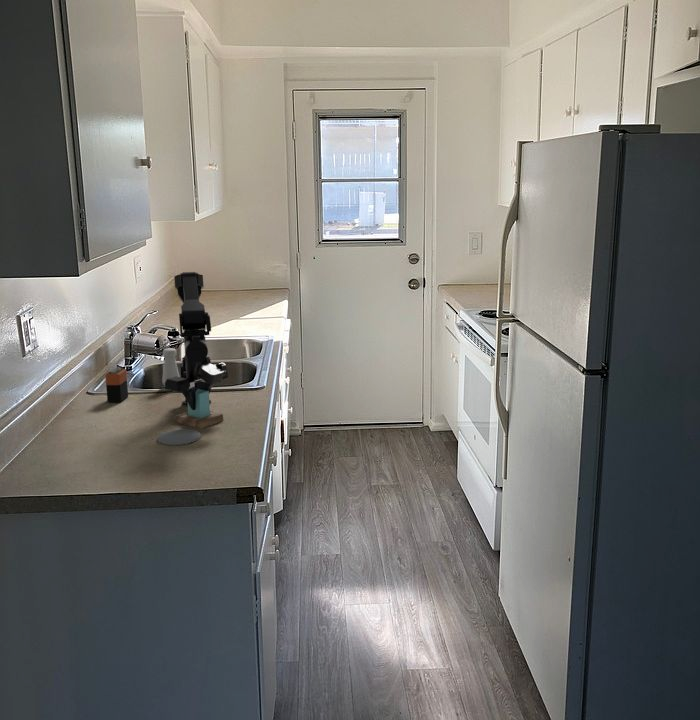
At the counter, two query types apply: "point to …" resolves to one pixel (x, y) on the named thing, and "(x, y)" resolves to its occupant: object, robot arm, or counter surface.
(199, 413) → the plug
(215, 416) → the brown flat piece
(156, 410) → the counter surface
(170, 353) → the salt shaker
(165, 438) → the coaster
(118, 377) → the battery
